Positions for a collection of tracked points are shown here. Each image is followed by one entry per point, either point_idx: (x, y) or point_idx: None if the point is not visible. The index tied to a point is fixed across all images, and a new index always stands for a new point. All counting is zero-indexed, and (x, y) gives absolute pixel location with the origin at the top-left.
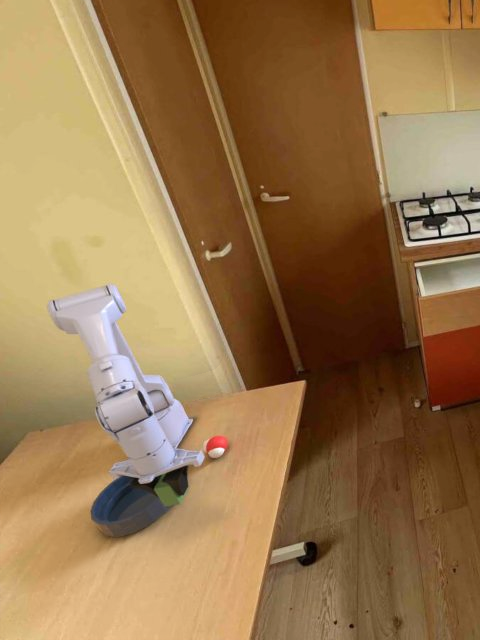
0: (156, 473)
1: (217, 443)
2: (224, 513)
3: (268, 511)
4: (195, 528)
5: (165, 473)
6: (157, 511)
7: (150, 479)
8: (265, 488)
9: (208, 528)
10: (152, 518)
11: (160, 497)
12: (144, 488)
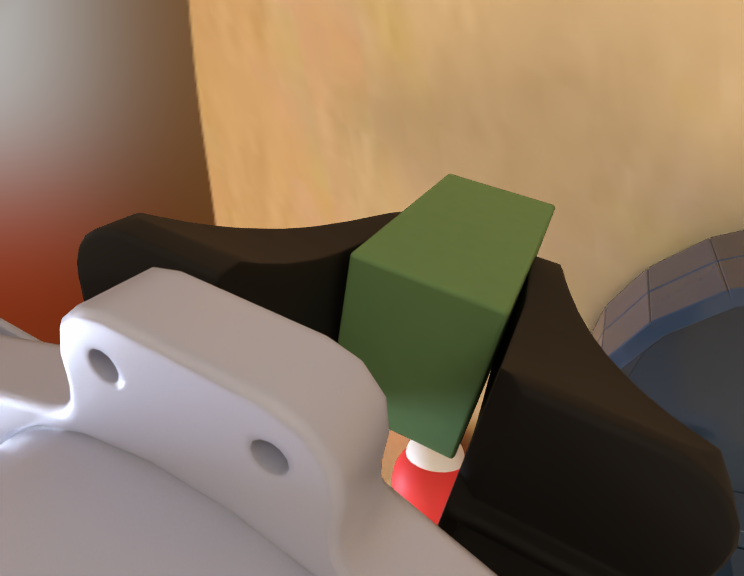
0: (55, 406)
1: (407, 484)
2: (373, 128)
3: (207, 53)
4: (490, 98)
5: (434, 432)
6: (673, 275)
7: (70, 311)
8: (246, 180)
9: (428, 69)
10: (709, 250)
11: (524, 244)
12: (588, 362)
